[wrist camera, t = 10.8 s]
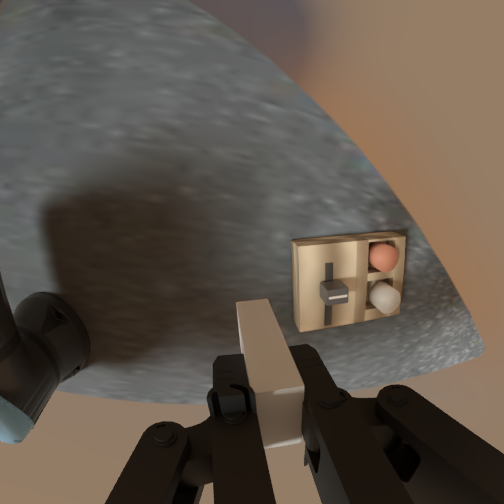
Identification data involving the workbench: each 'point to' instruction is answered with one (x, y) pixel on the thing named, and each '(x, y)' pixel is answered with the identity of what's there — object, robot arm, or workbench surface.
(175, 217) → the workbench surface
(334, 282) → the fader knob
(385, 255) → the button
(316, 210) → the workbench surface
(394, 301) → the button
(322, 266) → the console
